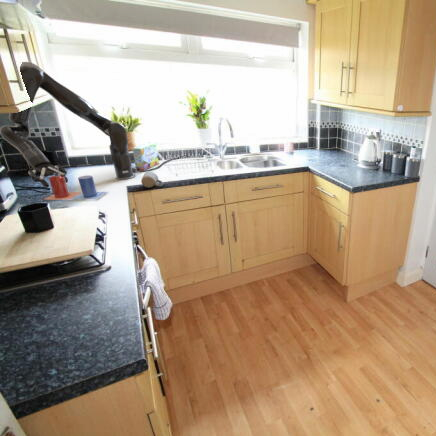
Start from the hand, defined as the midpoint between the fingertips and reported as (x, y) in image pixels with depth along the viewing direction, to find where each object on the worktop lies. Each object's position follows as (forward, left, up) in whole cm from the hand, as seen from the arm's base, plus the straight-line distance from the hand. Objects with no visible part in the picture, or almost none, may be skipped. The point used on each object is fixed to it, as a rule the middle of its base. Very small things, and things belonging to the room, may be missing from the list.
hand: (57, 184), depth 161 cm
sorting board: (0, +7, -7) cm, 10 cm away
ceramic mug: (-16, +39, -7) cm, 43 cm away
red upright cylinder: (+1, +1, -6) cm, 6 cm away
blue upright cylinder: (+1, +14, -6) cm, 15 cm away
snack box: (-59, +22, -7) cm, 64 cm away
